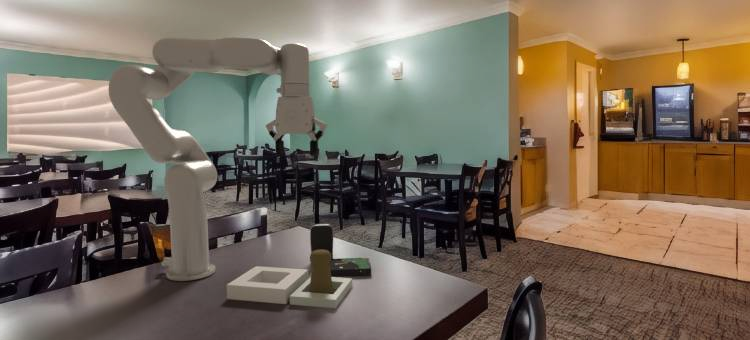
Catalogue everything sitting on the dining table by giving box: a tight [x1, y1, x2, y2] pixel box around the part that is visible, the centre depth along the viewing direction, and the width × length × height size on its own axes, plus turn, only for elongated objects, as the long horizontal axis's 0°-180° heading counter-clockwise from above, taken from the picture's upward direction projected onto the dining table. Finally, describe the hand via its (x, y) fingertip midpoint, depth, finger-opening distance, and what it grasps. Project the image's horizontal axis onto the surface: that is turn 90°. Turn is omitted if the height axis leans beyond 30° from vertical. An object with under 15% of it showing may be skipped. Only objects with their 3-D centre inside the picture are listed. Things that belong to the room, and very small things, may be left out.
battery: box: [309, 223, 334, 259], centre depth 127 cm, size 7×4×11 cm, turn 99°
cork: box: [309, 250, 335, 294], centre depth 100 cm, size 6×6×11 cm
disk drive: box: [329, 257, 372, 278], centre depth 118 cm, size 10×3×15 cm
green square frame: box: [289, 276, 353, 310], centre depth 100 cm, size 11×14×2 cm
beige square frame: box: [226, 265, 309, 305], centre depth 103 cm, size 16×14×4 cm
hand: (296, 155), depth 112 cm, fingers open, 9 cm apart
